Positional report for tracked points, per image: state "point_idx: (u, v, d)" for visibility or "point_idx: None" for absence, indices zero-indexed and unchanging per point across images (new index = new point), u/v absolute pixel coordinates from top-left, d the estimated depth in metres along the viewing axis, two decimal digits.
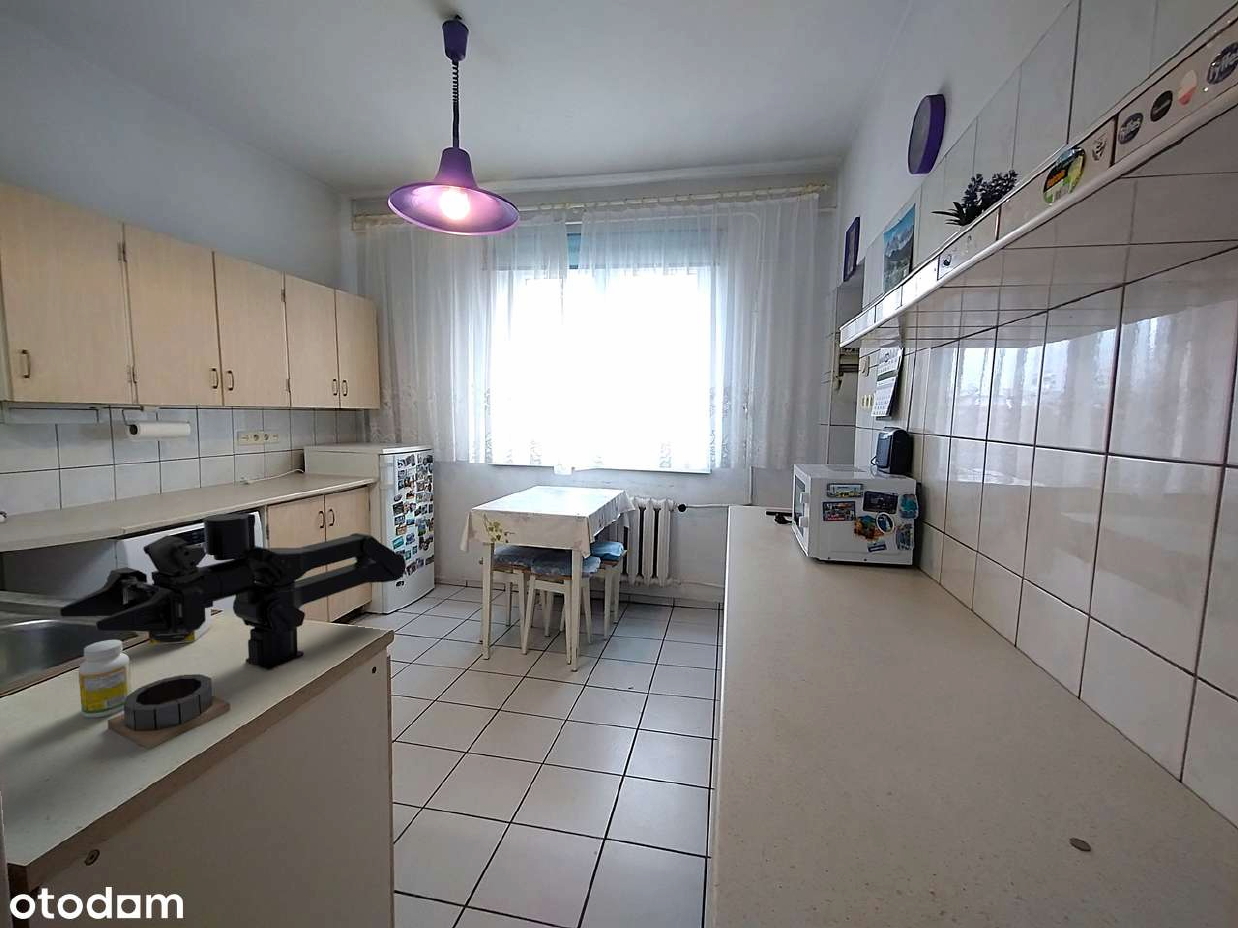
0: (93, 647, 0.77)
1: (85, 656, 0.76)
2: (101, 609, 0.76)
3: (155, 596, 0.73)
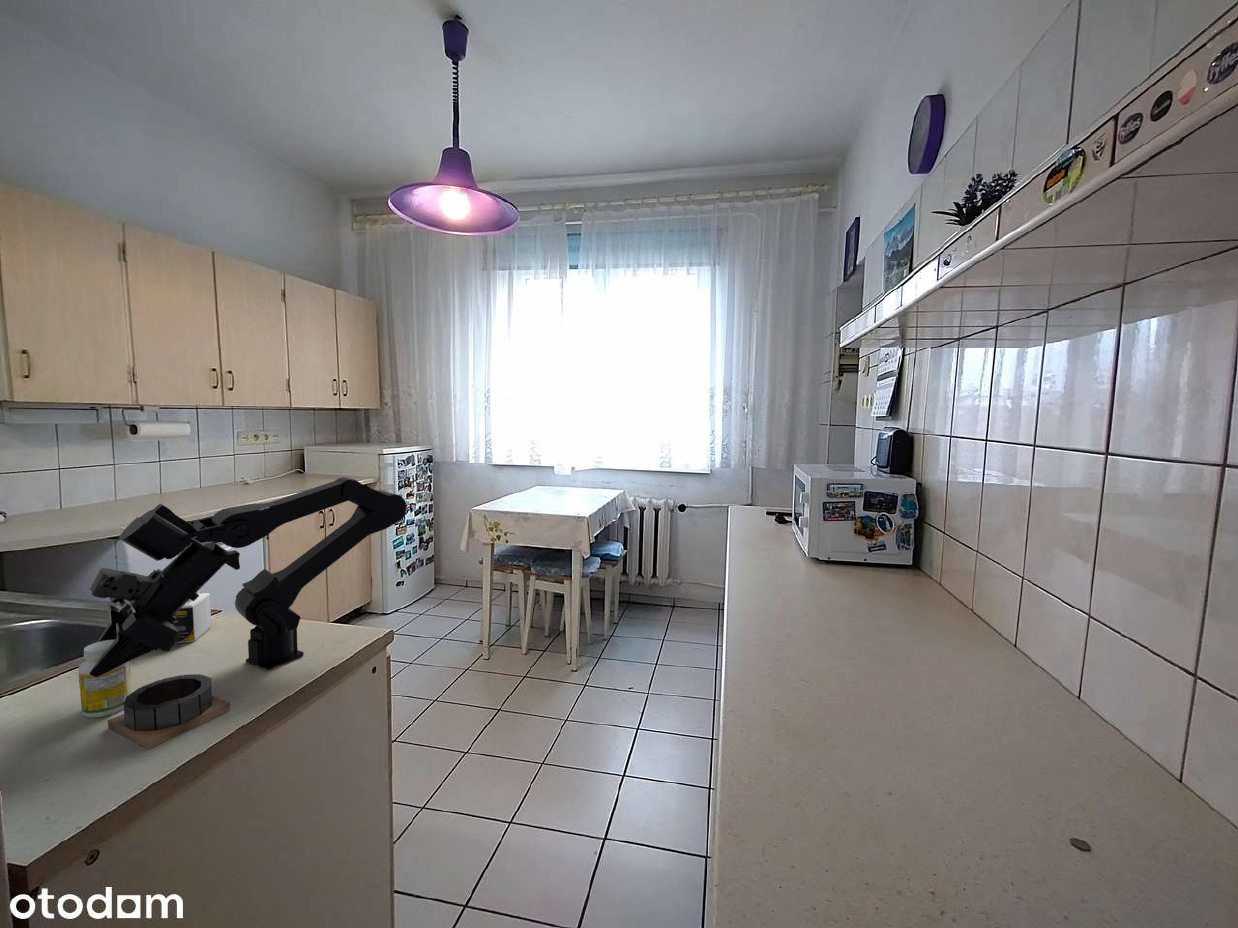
0: (93, 647, 0.77)
1: (85, 656, 0.76)
2: None
3: (117, 632, 0.76)
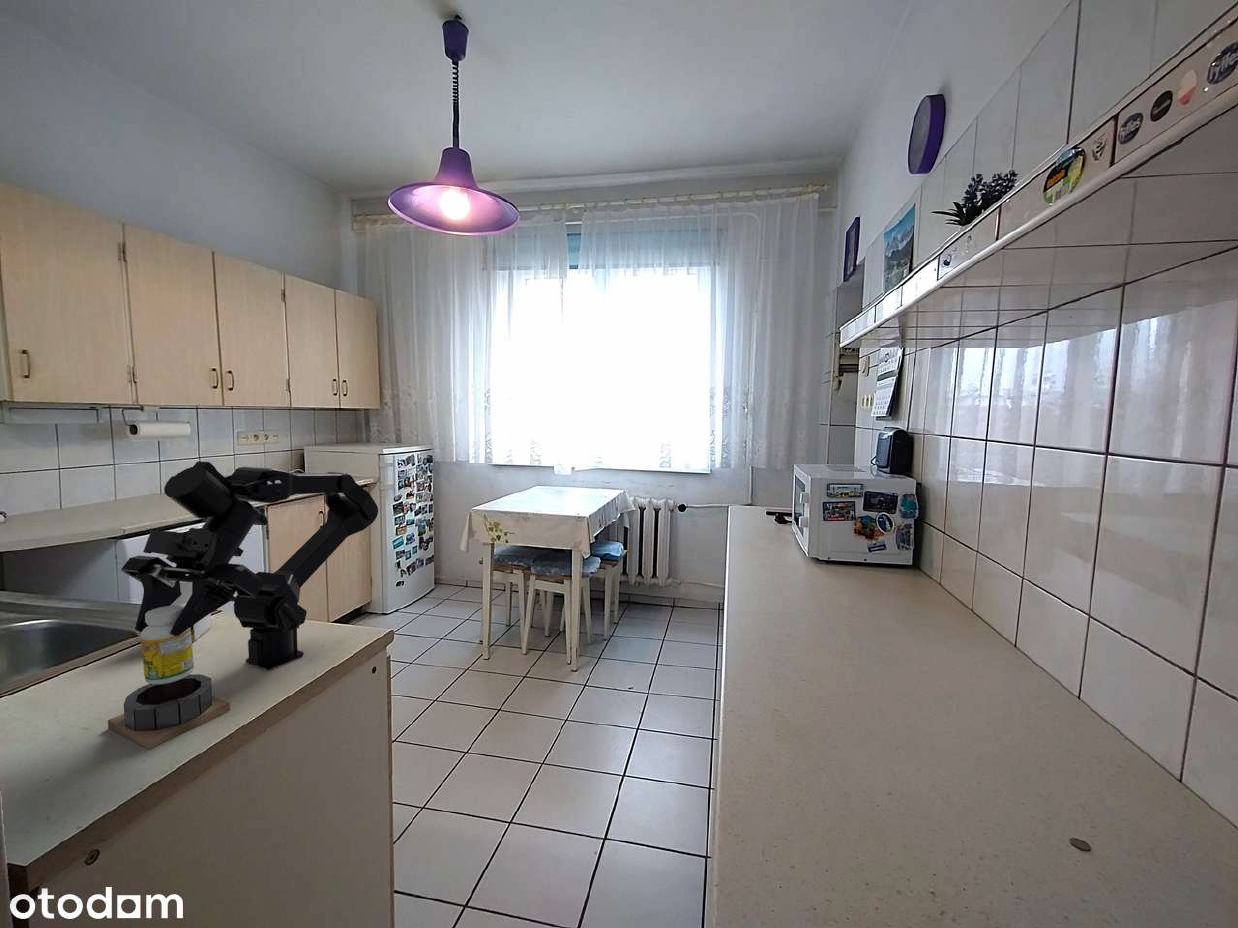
0: (156, 613, 0.74)
1: (154, 621, 0.73)
2: (162, 604, 0.78)
3: (195, 588, 0.75)
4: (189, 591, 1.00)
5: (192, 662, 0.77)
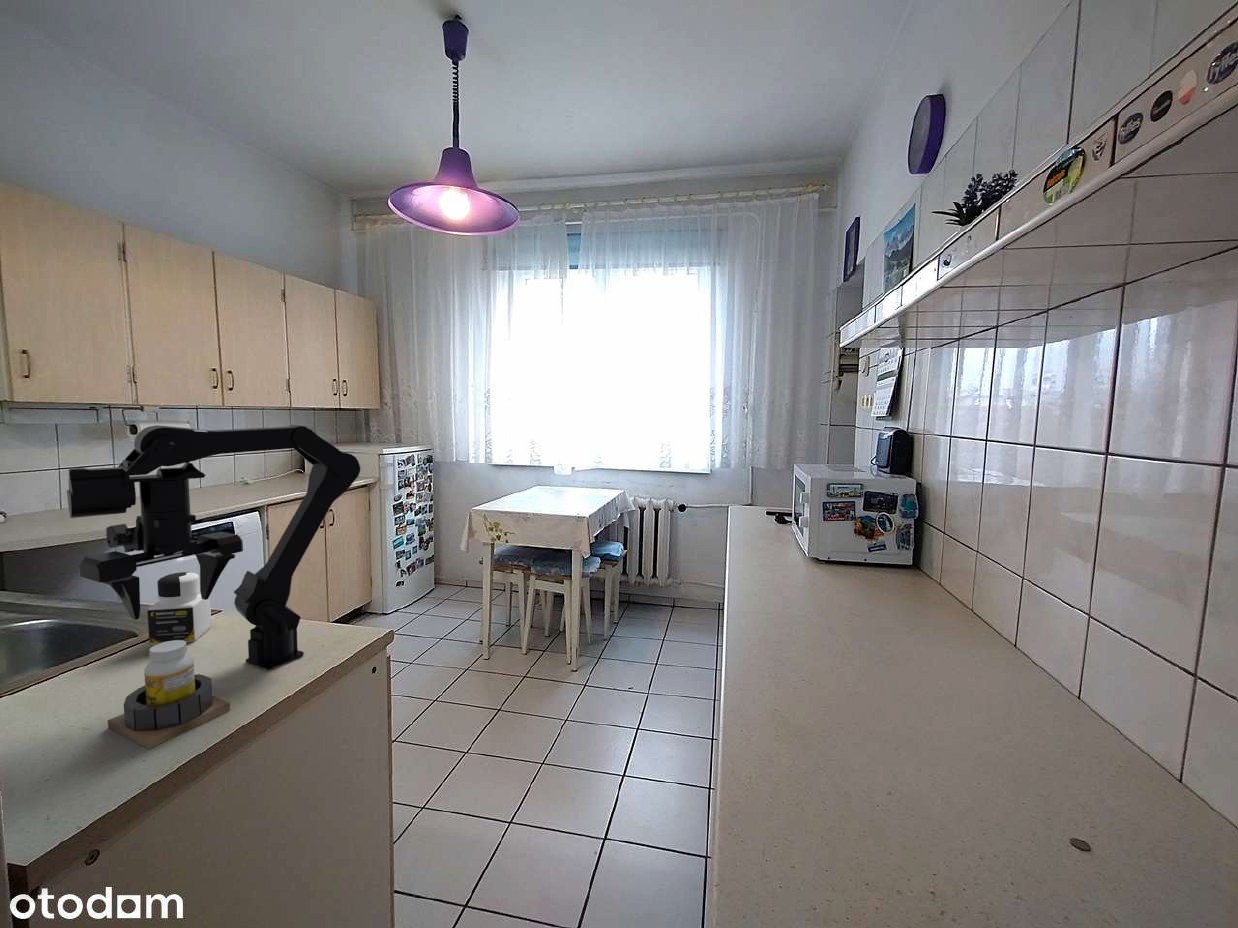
0: (160, 649, 0.75)
1: (158, 658, 0.74)
2: (210, 573, 0.87)
3: None
4: (189, 591, 1.00)
5: None
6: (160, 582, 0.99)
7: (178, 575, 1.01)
